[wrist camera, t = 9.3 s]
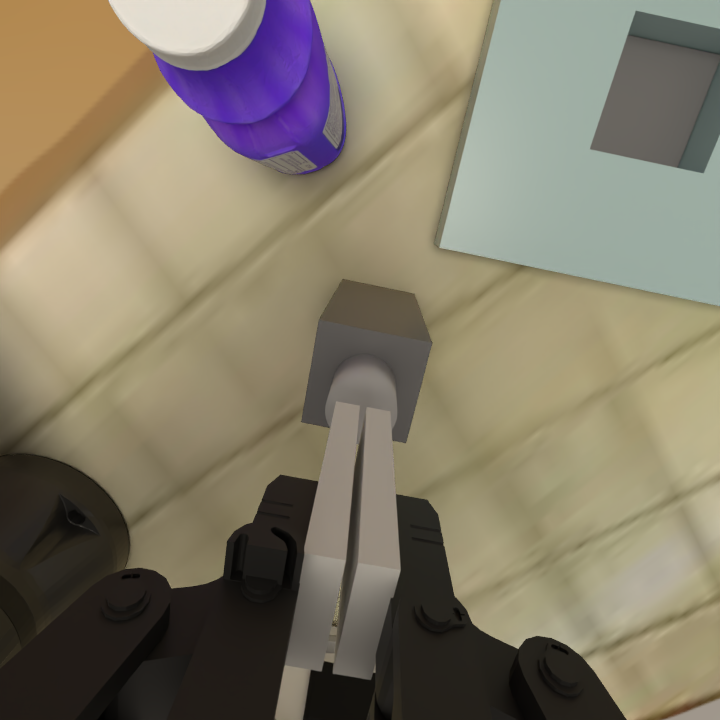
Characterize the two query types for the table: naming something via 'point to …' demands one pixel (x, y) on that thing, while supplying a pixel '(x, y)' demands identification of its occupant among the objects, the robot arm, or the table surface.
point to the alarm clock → (323, 692)
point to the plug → (368, 356)
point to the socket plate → (595, 144)
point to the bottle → (249, 74)
